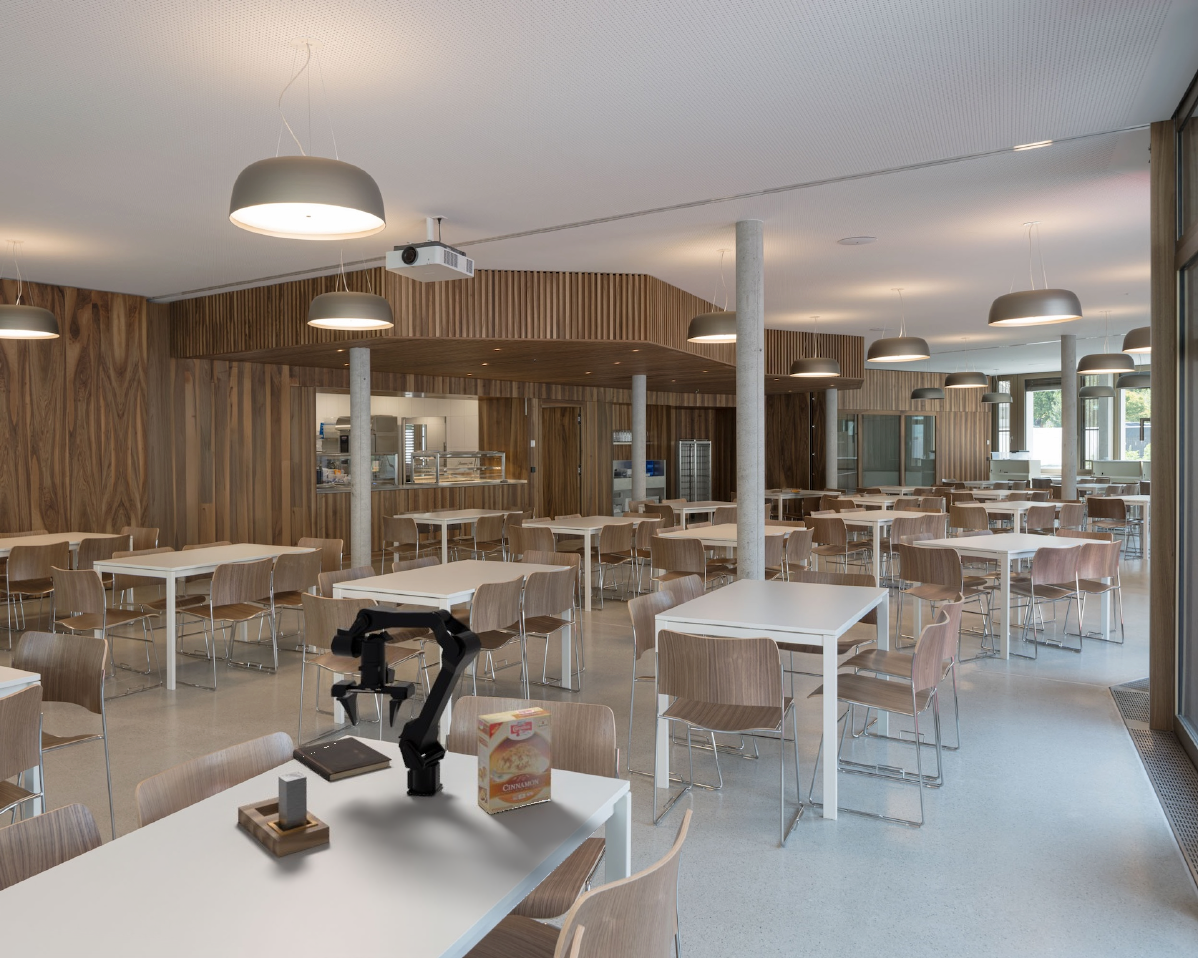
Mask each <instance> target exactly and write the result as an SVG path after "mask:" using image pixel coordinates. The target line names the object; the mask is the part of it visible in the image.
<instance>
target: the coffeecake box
mask: <svg viewBox="0 0 1198 958" xmlns="http://www.w3.org/2000/svg"><path fill="white" fill-rule="evenodd" d="M548 799H551V800H552V713H550V712H549V711H547V710H545V709H543V708H541V707H540V706H535V707H529V708H522V709H515V710H508V711H502V712H496V713H489V714H483V715H477V805H479V806H480V807H481V808H482V809H483V810H484V811H485V810H486V811H485V812H486V813H487V812H488V813H489V814H490V815H494V813H495V814H498V813H497V812H499V813H502V811H503V810H508V809H512V808H515V807H520V806H522V805H527V804H531V803H534V802H539V801H542V800H548ZM512 810H513V809H512ZM508 811H509V810H508ZM503 812H504V811H503ZM488 813H487V814H488ZM489 814H488V815H489Z"/></svg>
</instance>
